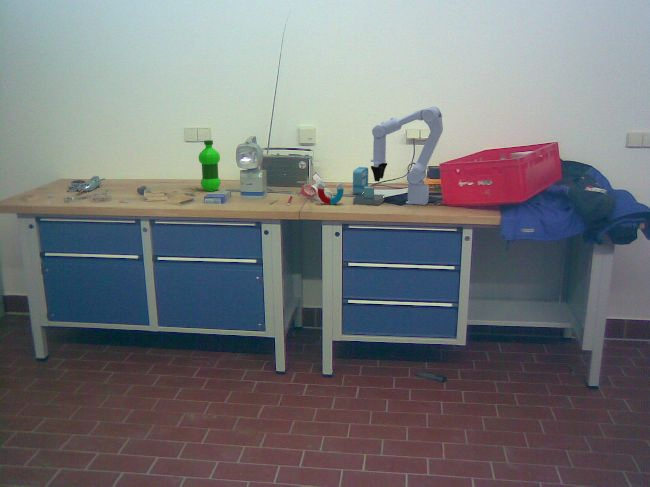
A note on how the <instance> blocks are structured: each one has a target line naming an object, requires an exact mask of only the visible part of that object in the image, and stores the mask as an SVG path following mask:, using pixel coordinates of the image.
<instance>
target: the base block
mask: <svg viewBox="0 0 650 487" xmlns="http://www.w3.org/2000/svg"><path fill="white" fill-rule="evenodd" d="M383 196H384V198H383ZM352 200H353V202H352V204H353V205H361V206H362V205H363V206H374V207H375V206H377V207H378V206H380V205H381V204H382V203H383V202H384V201H385V194H376V193H374V197H373V198H364V194H356V196H355V197H353V198H352Z"/></svg>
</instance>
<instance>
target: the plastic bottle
mask: <svg viewBox="0 0 650 487" xmlns="http://www.w3.org/2000/svg"><path fill="white" fill-rule="evenodd" d="M203 142H204V144H203V145H204V146H205V148H203V149H202V151H201V152H200V153H199V155H198V162H199V163H200V164H201V173H202V174H201V175H202V177H201V180H200V185H201V188H202V189H203V190H204V191H206V192H215V190H216V191H217V190H218V189H219V188H220V186H221V178H220V177H219V162H220V161H221V154H220V153H219V151H218V150H216V149H214V147H213V145H214V141H213V140H212V139H211V140H210V139H207V140H204V141H203Z"/></svg>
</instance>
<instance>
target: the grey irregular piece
mask: <svg viewBox="0 0 650 487" xmlns="http://www.w3.org/2000/svg"><path fill="white" fill-rule="evenodd" d="M102 181H106V178H101V179H100V177H99V175H94V176H92V177H91V178H90V179H89V180H88V181H87V180H81V179H76V180H73V181H71V182H70V185H69V186H68V188H67V190H68V192H75V191H78V192H77V193H76V194H75V195H76V196H78V195H80V194H82V193H83V192H85V193H89V192H92V191H93V190H95V189H97V188H98V187H100V186H101V185H102Z"/></svg>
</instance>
